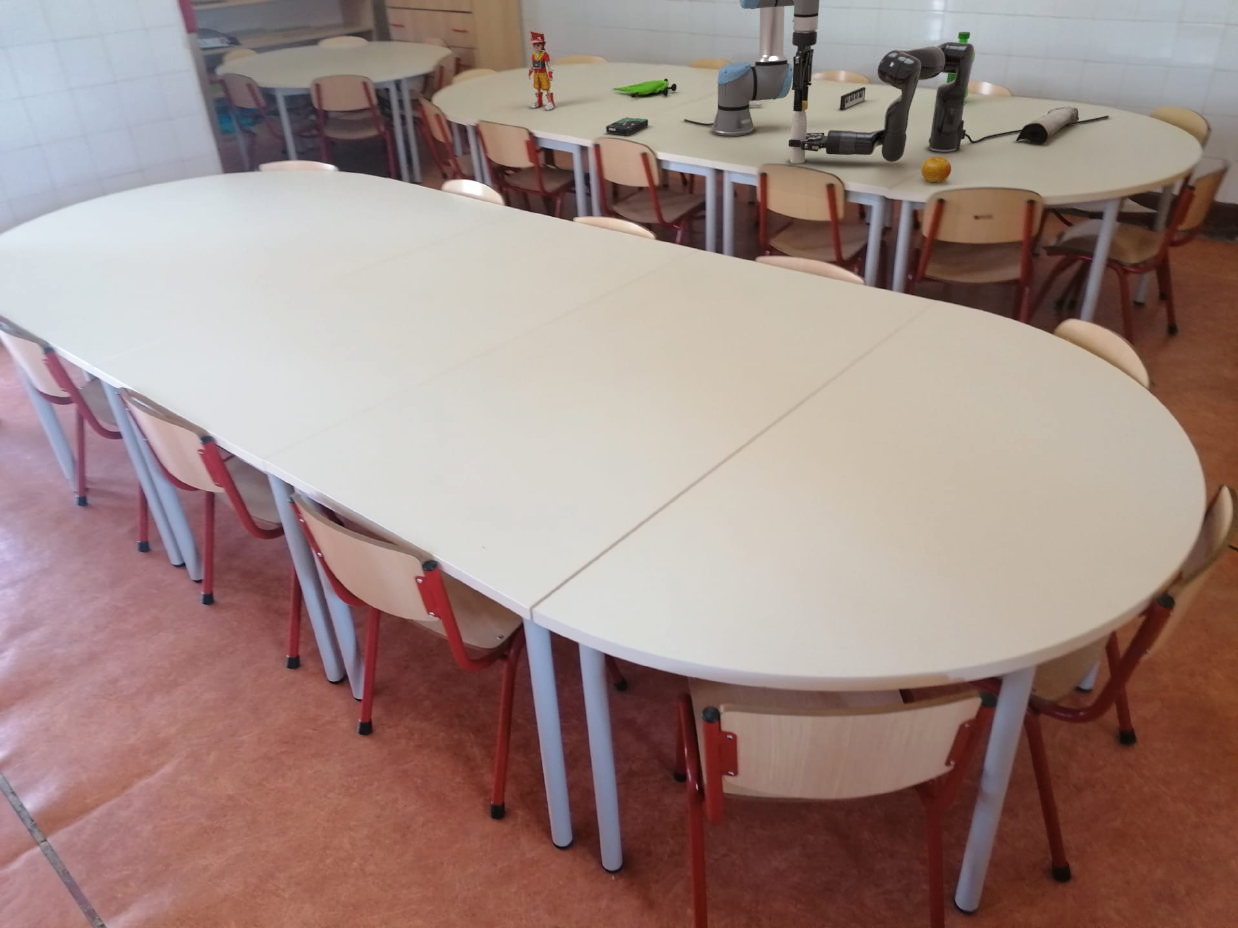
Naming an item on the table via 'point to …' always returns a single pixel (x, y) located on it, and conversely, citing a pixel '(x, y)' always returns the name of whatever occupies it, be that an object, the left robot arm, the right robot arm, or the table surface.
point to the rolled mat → (1048, 125)
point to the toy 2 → (648, 88)
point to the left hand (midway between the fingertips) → (800, 109)
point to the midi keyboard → (852, 98)
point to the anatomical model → (754, 103)
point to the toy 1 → (541, 71)
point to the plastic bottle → (962, 39)
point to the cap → (804, 105)
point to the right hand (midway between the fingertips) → (790, 141)
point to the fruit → (936, 169)
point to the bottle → (798, 136)
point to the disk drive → (627, 126)
